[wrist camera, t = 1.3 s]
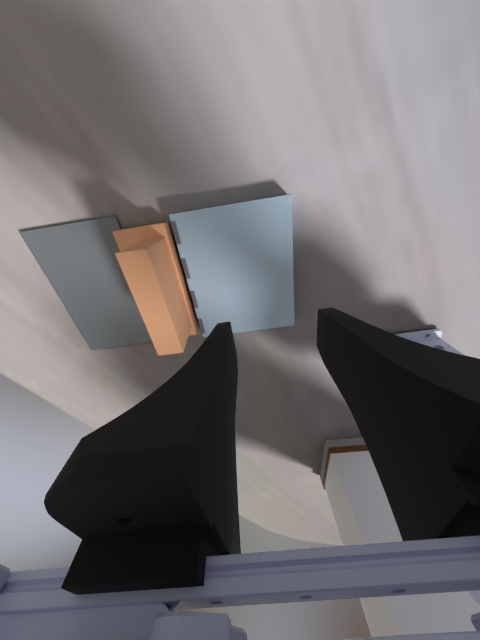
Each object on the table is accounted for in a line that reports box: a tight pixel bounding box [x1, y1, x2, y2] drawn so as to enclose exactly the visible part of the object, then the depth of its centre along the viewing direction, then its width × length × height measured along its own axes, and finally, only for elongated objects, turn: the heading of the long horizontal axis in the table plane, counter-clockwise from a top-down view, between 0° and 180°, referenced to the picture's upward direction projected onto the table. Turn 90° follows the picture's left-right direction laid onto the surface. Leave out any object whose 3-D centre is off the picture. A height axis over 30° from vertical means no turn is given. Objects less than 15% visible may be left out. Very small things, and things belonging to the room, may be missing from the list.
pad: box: [19, 216, 152, 350], centre depth 20 cm, size 8×12×1 cm, turn 8°
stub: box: [112, 222, 198, 356], centre depth 17 cm, size 4×10×5 cm, turn 8°
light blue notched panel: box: [169, 194, 295, 338], centre depth 19 cm, size 9×11×2 cm
